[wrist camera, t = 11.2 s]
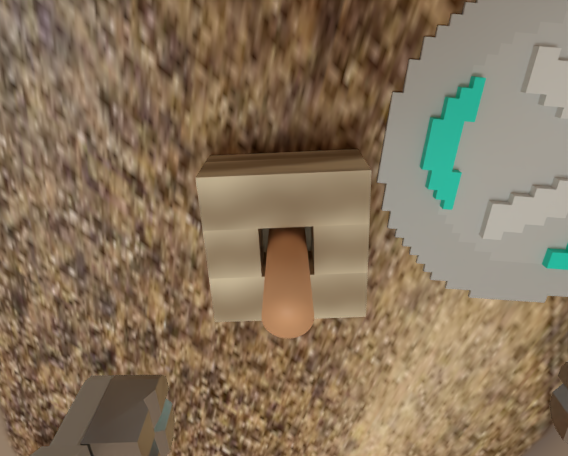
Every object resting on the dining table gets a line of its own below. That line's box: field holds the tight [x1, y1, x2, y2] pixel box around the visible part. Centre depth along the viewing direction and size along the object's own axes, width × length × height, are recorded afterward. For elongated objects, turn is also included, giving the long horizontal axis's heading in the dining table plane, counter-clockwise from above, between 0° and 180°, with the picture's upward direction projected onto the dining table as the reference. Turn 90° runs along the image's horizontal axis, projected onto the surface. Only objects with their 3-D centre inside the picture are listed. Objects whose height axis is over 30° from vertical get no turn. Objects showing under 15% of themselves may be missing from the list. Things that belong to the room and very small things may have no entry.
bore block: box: [196, 149, 371, 322], centre depth 34 cm, size 12×12×6 cm
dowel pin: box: [262, 227, 314, 338], centre depth 30 cm, size 3×3×12 cm
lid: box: [377, 0, 568, 303], centre depth 34 cm, size 28×28×2 cm
